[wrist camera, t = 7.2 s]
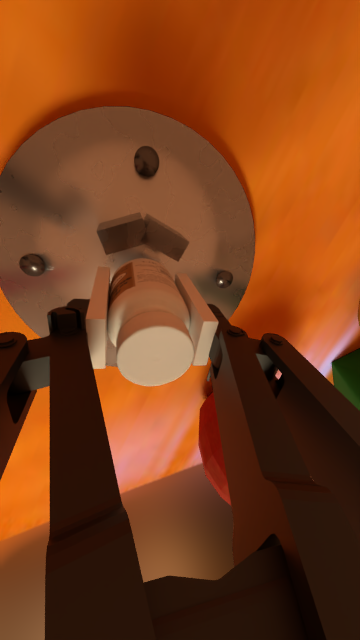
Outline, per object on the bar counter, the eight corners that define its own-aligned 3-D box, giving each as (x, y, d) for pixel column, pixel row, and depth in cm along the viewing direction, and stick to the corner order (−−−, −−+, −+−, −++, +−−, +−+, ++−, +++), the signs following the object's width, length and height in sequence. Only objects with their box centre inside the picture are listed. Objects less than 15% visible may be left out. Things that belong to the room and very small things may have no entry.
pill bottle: (110, 253, 15) (102, 313, 8) (177, 260, 16) (215, 317, 10) (109, 313, 17) (103, 397, 11) (168, 315, 18) (195, 391, 12)
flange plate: (-52, 61, 12) (-109, 23, 9) (285, 149, 17) (320, 143, 14) (21, 364, 21) (6, 394, 19) (219, 359, 27) (231, 381, 24)
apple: (182, 374, 27) (230, 524, 15) (262, 356, 28) (360, 481, 17) (187, 426, 32) (225, 564, 21) (254, 409, 34) (323, 530, 22)
